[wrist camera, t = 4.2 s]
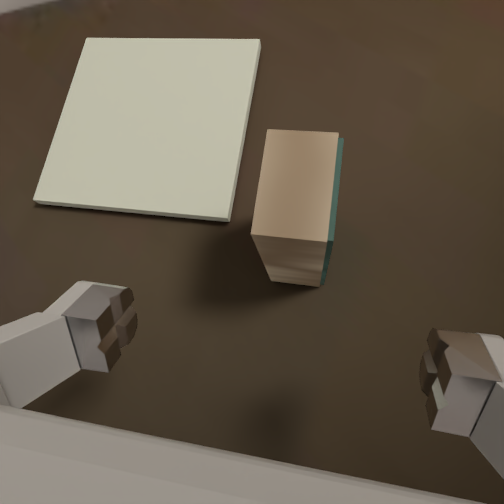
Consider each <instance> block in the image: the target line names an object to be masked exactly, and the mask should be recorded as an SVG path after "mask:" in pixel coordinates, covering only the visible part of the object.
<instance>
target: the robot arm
mask: <svg viewBox="0 0 504 504" xmlns="http://www.w3.org/2000/svg"><path fill="white" fill-rule="evenodd" d="M133 301H134V297H133V292H132V290H131V289H130V288H128V287H122V286H116V285H109V284H103V283H95V282H88V281H79V282H77V283H75V284H74V285H73V286H72V287H71V288H70V289H69V290H68V291H66V292H65V293H64V294H63V295H62V296H61V297H60V298H59V299H57V300H56V301H55V302H54V303H53V304H52V305H51V306H50V307H48V308H47V309H46V310H45V311H44V312H43V313H38V312H37V313H34V314H32V315H29V316H26V317H24V318H21V319H19V320H16V321H13V322H11V323H8V324H5V325H3V326H0V504H486V503H481V502H476V501H471V500H466V499H461V498H457V497H452V496H447V495H442V494H437V493H432V492H427V491H422V490H417V489H413V488H408V487H403V486H398V485H393V484H388V483H383V482H378V481H373V480H368V479H364V478H359V477H354V476H349V475H344V474H339V473H334V472H329V471H324V470H319V469H315V468H310V467H305V466H300V465H295V464H290V463H285V462H280V461H275V460H270V459H265V458H261V457H256V456H251V455H246V454H241V453H236V452H231V451H226V450H221V449H216V448H212V447H207V446H202V445H197V444H192V443H187V442H182V441H177V440H172V439H167V438H162V437H158V436H153V435H148V434H143V433H138V432H133V431H128V430H123V429H118V428H113V427H109V426H104V425H99V424H94V423H89V422H84V421H79V420H74V419H69V418H64V417H59V416H55V415H50V414H45V413H40V412H35V411H30V410H25V409H21V408H22V407H24V406H25V405H27V404H29V403H30V402H32V401H33V400H35V399H36V398H38V397H39V396H41V395H42V394H44V393H46V392H47V391H49V390H50V389H52V388H53V387H55V386H56V385H58V384H59V383H61V382H63V381H64V380H66V379H67V378H69V377H70V376H72V375H73V374H75V373H76V372H78V371H80V368H81V369H88V370H95V371H102V372H110V370H111V369H112V367H113V366H114V365H115V363H116V362H117V360H118V359H119V358H120V356H121V351H120V348H122V347H124V346H126V345H128V344H129V343H130V342H131V340H132V339H133V337H134V335H135V332H136V329H137V320H138V319H137V313H136V311H135V310H134V309H133V308H132V307H131V304H132V302H133ZM427 342H428V345H429V350H427V351H426V352H424V353H423V355H422V359H421V362H420V371H419V377H420V385H421V389H422V391H423V392H424V393H425V394H426V395H427V396H428V399H427V402H426V405H425V406H426V410H427V414H428V418H429V422H430V426H431V430H436V431H441V432H446V433H451V434H456V435H461V436H466V437H470V440H471V441H472V442H473V443H474V445H475V446H476V447H477V448H478V449H479V451H480V452H481V453H482V454H483V455H484V456H485V458H486V459H487V460H488V461H489V462H490V464H491V465H492V466H493V467H494V468H495V470H496V471H497V472H498V473H499V474H500V476H501V477H502V478H503V479H504V339H503V338H502V337H500V336H499V335H491V334H482V333H476V334H475V333H468V332H460V331H452V330H444V329H437V328H432V330H431V331H430V333H429V336H428V339H427Z"/></svg>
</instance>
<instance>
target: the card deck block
mask: <svg viewBox="0 0 504 504" xmlns="http://www.w3.org/2000/svg"><path fill="white" fill-rule="evenodd" d="M338 134H339V133H331V132H312V131H292V130H272V129H268V130H267V136H266V142H265V149H264V155H263V161H262V167H261V173H260V179H259V186H258V192H257V198H256V204H255V210H254V217H253V223H252V229H251V236H252V238H253V241H254V243H255V245H256V247H257V250H258V252H259V254H260V257H261V259H262V261H263V263H264V266H265V268H266V270H267V273H268V275H269V277H270V279H271V281H276V282H284V283H292V284H300V285H308V286H317V287H320V284H321V285H324V282H325V277H326V273H327V268H328V264H329V259H330V255H331V250H332V246H333V241H334V231H335V221H336V211H337V201H338V191H339V181H340V171H341V161H342V151H343V141H344V138H338Z"/></svg>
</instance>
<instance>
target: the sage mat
mask: <svg viewBox="0 0 504 504" xmlns="http://www.w3.org/2000/svg"><path fill="white" fill-rule="evenodd" d="M260 50H261V43H260V39H162V38H86V41H85V44H84V47H83V50H82V53H81V56H80V59H79V62H78V66H77V69H76V72H75V75H74V78H73V81H72V84H71V87H70V90H69V93H68V96H67V99H66V102H65V105H64V108H63V111H62V114H61V117H60V120H59V123H58V126H57V129H56V132H55V135H54V138H53V141H52V144H51V147H50V150H49V153H48V156H47V159H46V162H45V165H44V168H43V171H42V174H41V177H40V180H39V183H38V186H37V189H36V192H35V195H34V198H33V200H34V201H36V202H38V203H39V204H46V205H57V206H67V207H78V208H88V209H98V210H109V211H119V212H129V213H140V214H150V215H160V216H171V217H181V218H192V219H202V220H212V221H223V222H230V217H231V212H232V206H233V201H234V195H235V189H236V184H237V178H238V173H239V167H240V162H241V156H242V150H243V145H244V139H245V134H246V128H247V122H248V117H249V111H250V106H251V100H252V94H253V89H254V83H255V78H256V72H257V67H258V61H259V55H260Z"/></svg>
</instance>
